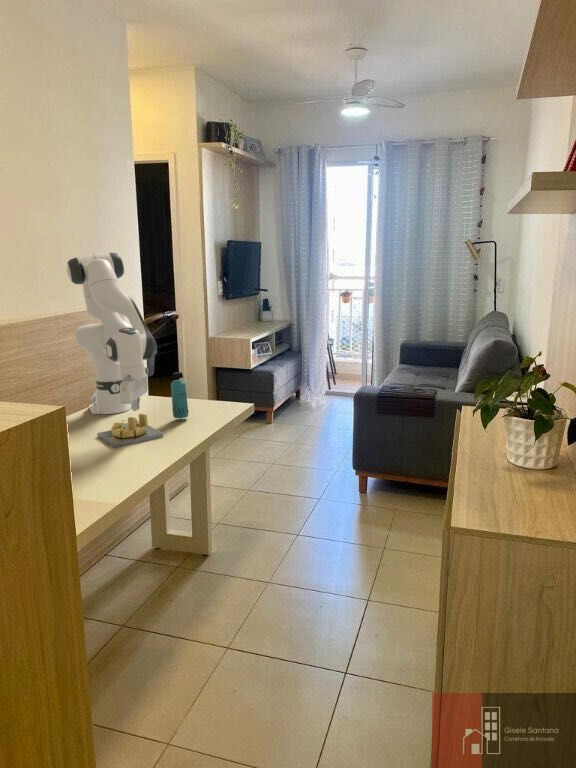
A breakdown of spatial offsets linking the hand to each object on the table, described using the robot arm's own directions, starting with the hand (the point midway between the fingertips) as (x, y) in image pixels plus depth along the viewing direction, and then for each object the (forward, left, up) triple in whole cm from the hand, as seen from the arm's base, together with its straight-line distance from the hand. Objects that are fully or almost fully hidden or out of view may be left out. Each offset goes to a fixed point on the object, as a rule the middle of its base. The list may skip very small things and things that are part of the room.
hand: (136, 409), depth 208 cm
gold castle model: (-5, -1, -11) cm, 13 cm away
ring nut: (-5, -1, -9) cm, 11 cm away
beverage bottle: (-13, +24, -12) cm, 29 cm away
